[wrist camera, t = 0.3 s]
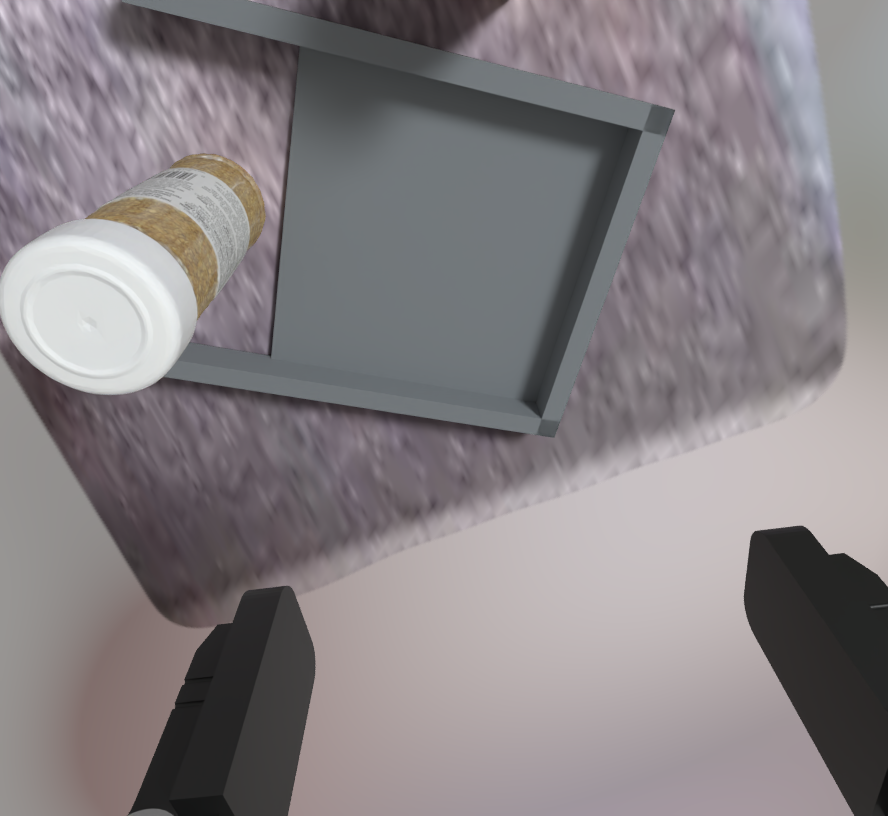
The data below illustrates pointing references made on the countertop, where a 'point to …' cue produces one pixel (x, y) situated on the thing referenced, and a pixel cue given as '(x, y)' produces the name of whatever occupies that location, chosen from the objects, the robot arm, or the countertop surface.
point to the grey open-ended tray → (436, 227)
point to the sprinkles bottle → (131, 276)
